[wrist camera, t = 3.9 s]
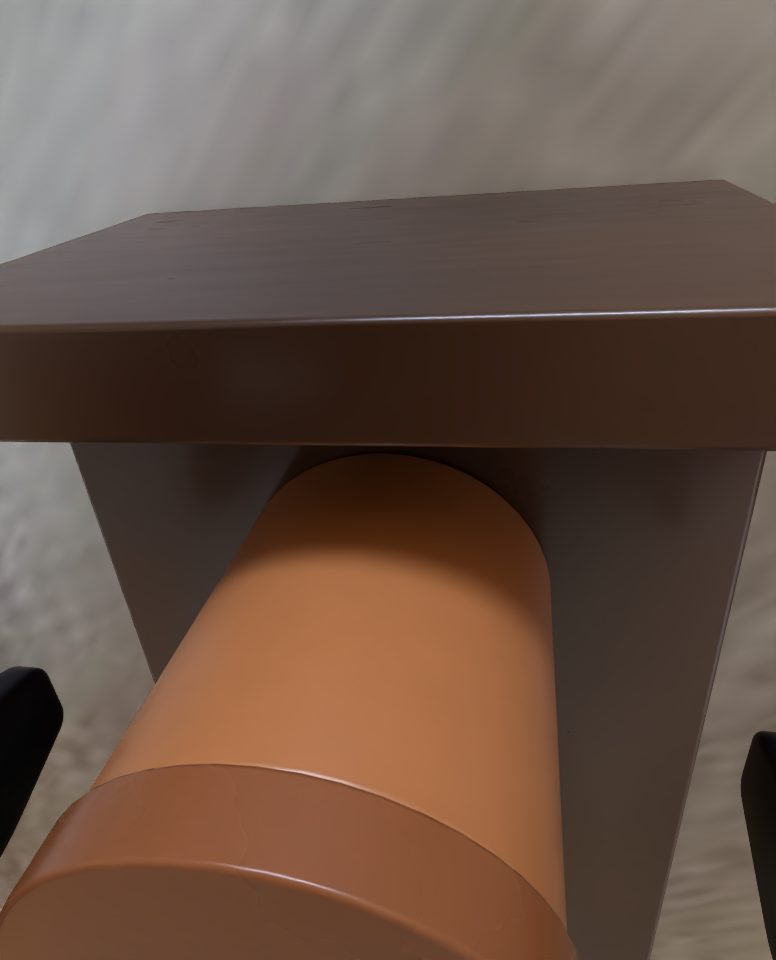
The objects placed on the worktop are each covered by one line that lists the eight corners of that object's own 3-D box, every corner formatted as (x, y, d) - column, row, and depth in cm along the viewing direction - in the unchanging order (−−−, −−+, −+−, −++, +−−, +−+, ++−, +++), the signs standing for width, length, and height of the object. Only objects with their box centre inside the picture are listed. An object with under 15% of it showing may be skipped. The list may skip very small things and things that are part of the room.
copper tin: (567, 447, 9) (619, 926, 4) (549, 707, 11) (569, 1208, 6) (217, 442, 10) (-111, 822, 5) (272, 683, 12) (95, 1102, 7)
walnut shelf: (727, 178, 10) (988, 301, 5) (600, 963, 23) (627, 1275, 17) (146, 213, 12) (-202, 331, 6) (317, 919, 24) (250, 1186, 19)
